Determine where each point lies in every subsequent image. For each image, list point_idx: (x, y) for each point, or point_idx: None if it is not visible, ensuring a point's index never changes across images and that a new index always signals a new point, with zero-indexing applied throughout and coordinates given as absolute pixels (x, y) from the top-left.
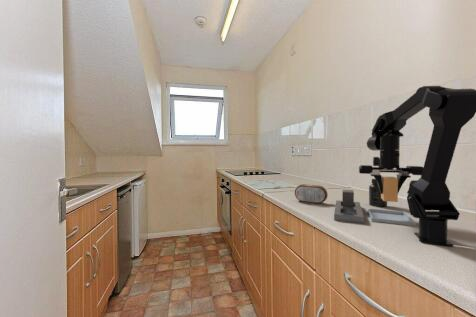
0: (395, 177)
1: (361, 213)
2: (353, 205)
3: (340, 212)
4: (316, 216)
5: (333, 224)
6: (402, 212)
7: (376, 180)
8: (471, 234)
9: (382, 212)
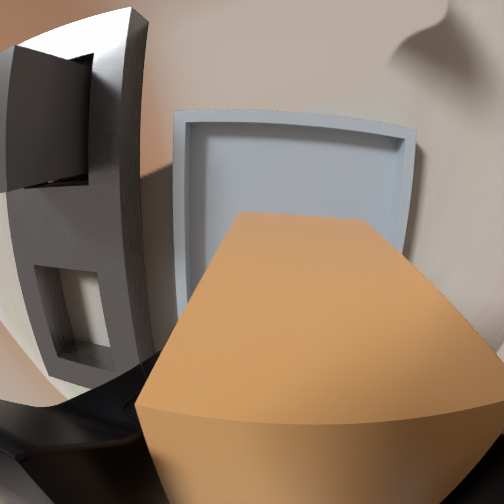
0: (442, 500)
1: (130, 348)
2: (75, 174)
3: (50, 303)
4: (6, 309)
5: (74, 388)
6: (399, 137)
7: (95, 412)
8: (497, 351)
9: (275, 125)
